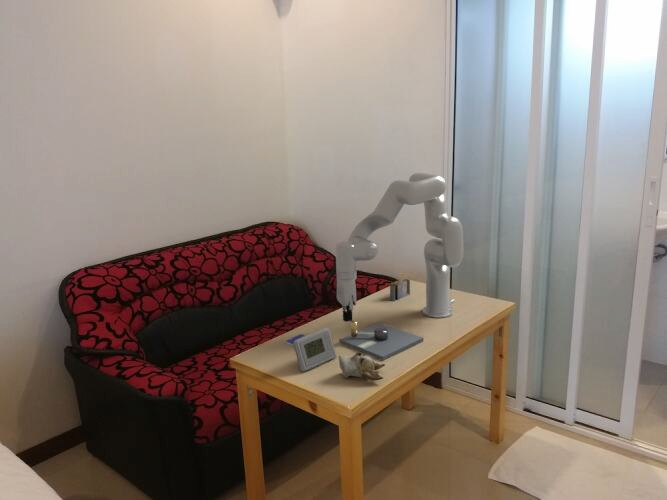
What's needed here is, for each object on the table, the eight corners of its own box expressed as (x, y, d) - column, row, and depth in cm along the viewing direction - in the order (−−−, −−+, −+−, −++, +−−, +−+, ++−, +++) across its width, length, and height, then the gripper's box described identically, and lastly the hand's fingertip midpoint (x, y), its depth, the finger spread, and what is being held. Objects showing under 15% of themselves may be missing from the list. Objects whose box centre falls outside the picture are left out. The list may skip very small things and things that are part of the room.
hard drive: (285, 340, 210) (308, 349, 202) (301, 333, 216) (324, 342, 207) (285, 344, 211) (308, 353, 202) (301, 337, 216) (324, 346, 208)
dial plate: (379, 326, 223) (379, 321, 222) (423, 341, 207) (423, 336, 207) (339, 342, 208) (339, 338, 208) (383, 360, 193) (383, 355, 192)
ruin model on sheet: (395, 302, 250) (395, 281, 247) (390, 300, 252) (389, 280, 249) (410, 295, 258) (410, 275, 255) (405, 294, 260) (405, 274, 257)
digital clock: (301, 374, 185) (299, 344, 183) (288, 364, 193) (286, 336, 190) (342, 361, 194) (340, 332, 191) (328, 352, 201) (327, 324, 198)
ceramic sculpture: (341, 344, 186) (385, 347, 184) (340, 367, 189) (384, 371, 187) (336, 358, 176) (384, 362, 174) (335, 383, 179) (382, 387, 177)
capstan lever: (388, 335, 209) (387, 319, 208) (387, 340, 205) (387, 324, 203) (351, 334, 211) (351, 319, 210) (350, 339, 206) (350, 324, 205)
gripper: (330, 270, 215) (332, 315, 219) (343, 281, 201) (344, 328, 205) (349, 268, 217) (350, 312, 221) (362, 278, 203) (363, 326, 208)
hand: (347, 320), depth 213 cm, fingers closed
